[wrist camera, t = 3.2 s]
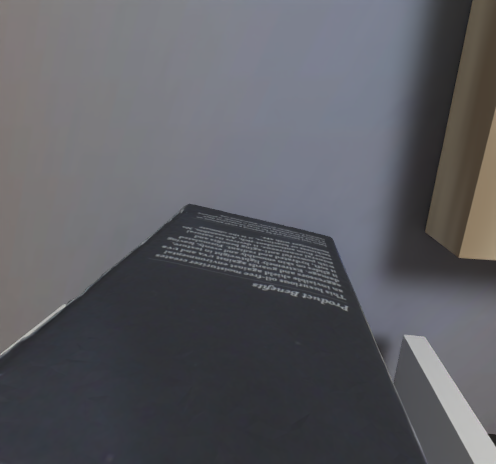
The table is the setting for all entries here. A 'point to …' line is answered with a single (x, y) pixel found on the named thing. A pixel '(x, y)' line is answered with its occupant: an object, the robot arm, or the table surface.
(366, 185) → the table surface
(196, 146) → the table surface
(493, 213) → the beech picture frame
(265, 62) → the table surface
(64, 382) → the small box
